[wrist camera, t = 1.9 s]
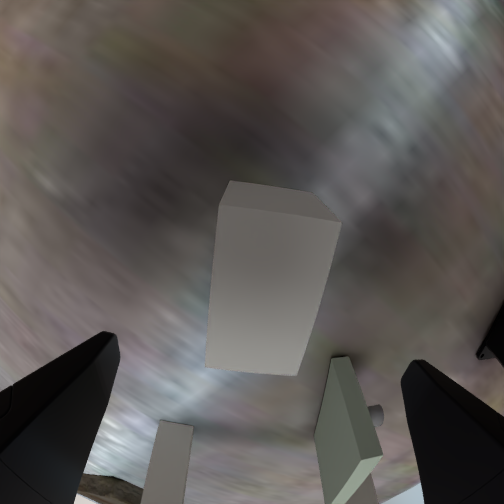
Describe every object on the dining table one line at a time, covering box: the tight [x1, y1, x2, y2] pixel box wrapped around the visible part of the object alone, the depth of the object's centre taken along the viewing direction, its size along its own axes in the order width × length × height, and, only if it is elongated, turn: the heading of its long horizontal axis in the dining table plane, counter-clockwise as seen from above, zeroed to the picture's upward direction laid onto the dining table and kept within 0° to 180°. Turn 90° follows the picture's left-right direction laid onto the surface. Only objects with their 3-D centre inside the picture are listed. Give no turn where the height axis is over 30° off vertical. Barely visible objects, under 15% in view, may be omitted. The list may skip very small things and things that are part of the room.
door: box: [314, 356, 384, 504], centre depth 16 cm, size 10×2×8 cm, turn 2°
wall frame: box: [141, 420, 379, 504], centre depth 18 cm, size 18×2×9 cm, turn 82°
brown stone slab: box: [77, 473, 144, 504], centre depth 30 cm, size 17×15×4 cm
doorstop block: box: [205, 180, 342, 376], centre depth 13 cm, size 4×7×5 cm, turn 172°
